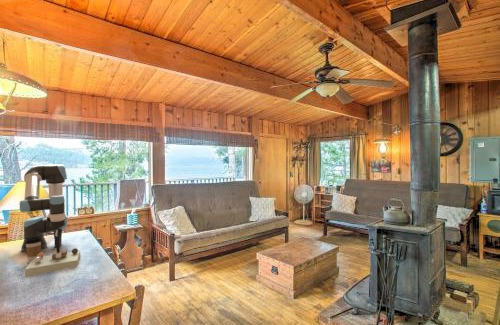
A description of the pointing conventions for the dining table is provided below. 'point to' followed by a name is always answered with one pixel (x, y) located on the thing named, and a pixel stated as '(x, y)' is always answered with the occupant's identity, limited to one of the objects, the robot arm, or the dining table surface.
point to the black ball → (74, 250)
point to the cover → (63, 254)
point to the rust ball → (40, 255)
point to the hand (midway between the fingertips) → (58, 257)
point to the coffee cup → (33, 247)
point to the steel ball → (38, 259)
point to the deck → (52, 264)
